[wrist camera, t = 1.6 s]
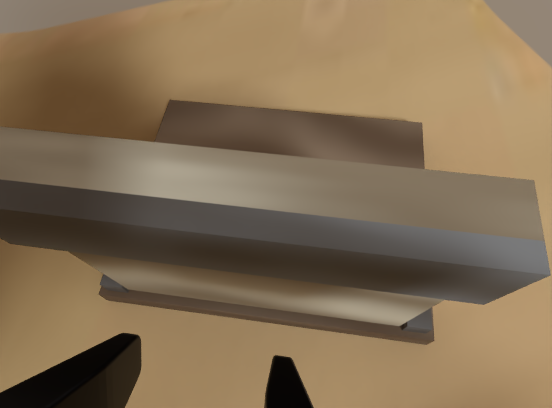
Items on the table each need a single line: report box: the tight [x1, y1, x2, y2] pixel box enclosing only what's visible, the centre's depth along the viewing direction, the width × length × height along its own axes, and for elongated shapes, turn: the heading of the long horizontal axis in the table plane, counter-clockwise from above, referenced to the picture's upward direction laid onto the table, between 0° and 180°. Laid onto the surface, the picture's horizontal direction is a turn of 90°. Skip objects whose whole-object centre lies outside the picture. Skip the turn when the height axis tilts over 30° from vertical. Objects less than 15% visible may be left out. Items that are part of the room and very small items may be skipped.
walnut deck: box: [99, 100, 434, 345], centre depth 24 cm, size 14×18×2 cm
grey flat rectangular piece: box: [0, 127, 550, 326], centre depth 14 cm, size 12×14×2 cm
